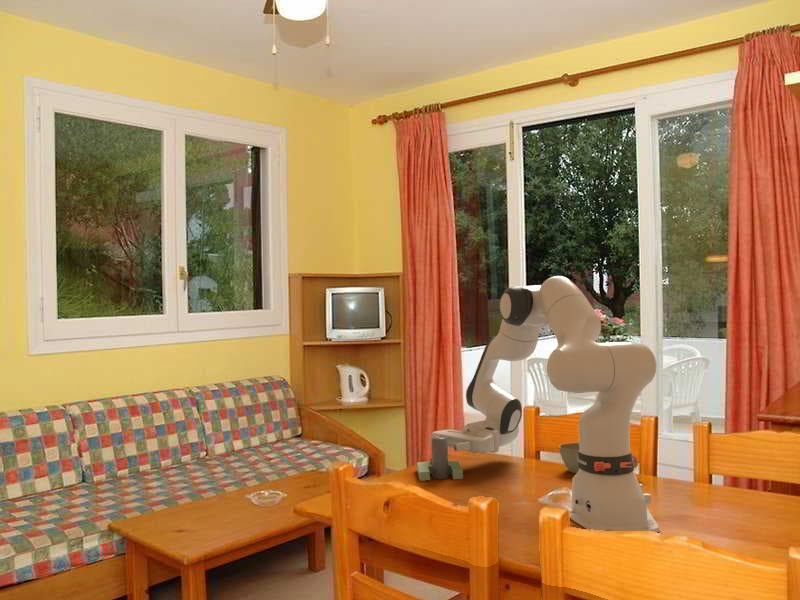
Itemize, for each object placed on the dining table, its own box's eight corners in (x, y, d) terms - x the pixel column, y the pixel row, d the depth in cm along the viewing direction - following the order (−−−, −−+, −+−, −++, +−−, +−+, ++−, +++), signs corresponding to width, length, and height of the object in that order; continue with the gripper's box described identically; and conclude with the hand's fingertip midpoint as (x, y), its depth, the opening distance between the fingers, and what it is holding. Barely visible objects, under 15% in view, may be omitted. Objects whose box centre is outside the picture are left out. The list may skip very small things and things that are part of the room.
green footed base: (463, 478, 200) (462, 466, 200) (420, 480, 199) (419, 467, 199) (457, 468, 212) (457, 456, 212) (417, 470, 211) (416, 458, 211)
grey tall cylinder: (449, 478, 200) (448, 439, 200) (433, 479, 200) (432, 440, 200) (447, 474, 205) (446, 436, 205) (431, 475, 204) (430, 437, 204)
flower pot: (592, 466, 208) (592, 442, 208) (598, 475, 198) (598, 449, 198) (557, 467, 209) (557, 442, 209) (562, 475, 199) (561, 450, 199)
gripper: (450, 422, 221) (417, 429, 211) (502, 430, 205) (469, 438, 196) (450, 443, 221) (418, 451, 211) (502, 452, 206) (470, 461, 196)
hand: (443, 445), depth 204 cm, fingers open, 8 cm apart
